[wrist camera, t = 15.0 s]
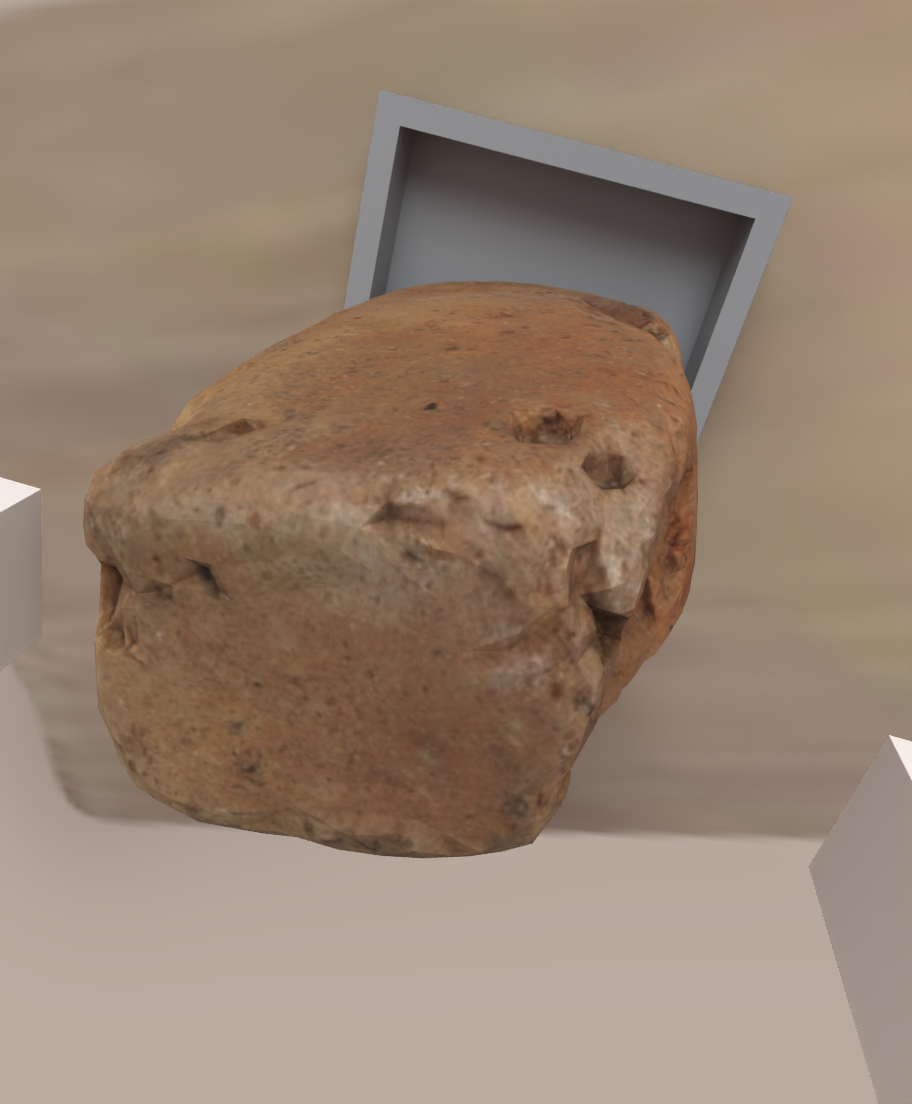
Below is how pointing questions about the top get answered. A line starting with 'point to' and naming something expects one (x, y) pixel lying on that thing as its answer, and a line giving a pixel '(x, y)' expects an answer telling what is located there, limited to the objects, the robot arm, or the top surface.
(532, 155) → the tray
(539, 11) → the top surface
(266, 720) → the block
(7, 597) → the robot arm
